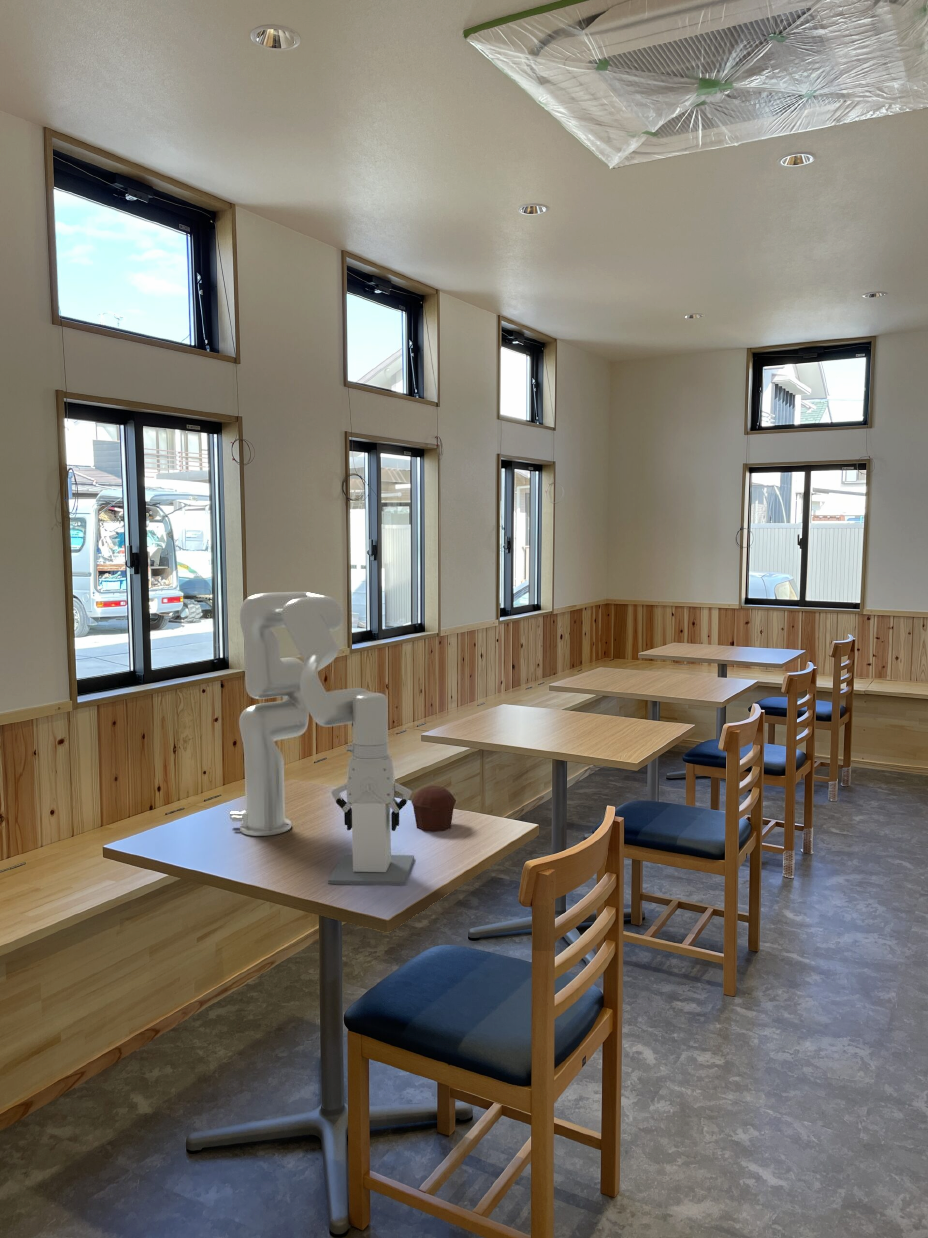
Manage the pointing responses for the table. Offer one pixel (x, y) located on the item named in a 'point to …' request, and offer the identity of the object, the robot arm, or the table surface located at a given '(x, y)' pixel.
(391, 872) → the mat
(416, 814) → the muffin
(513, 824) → the table surface
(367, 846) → the milk carton
